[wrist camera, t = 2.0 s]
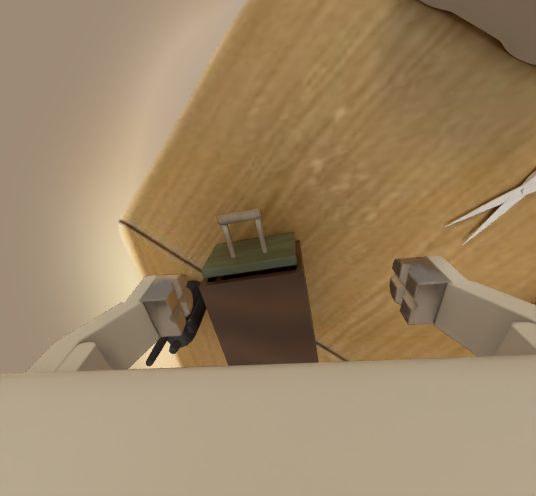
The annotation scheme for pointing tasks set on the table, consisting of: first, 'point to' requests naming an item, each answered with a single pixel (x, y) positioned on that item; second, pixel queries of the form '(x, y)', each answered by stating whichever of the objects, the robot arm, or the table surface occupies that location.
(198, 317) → the two-way radio
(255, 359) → the cabinet
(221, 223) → the drawer
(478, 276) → the table surface
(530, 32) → the game controller
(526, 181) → the scissors
